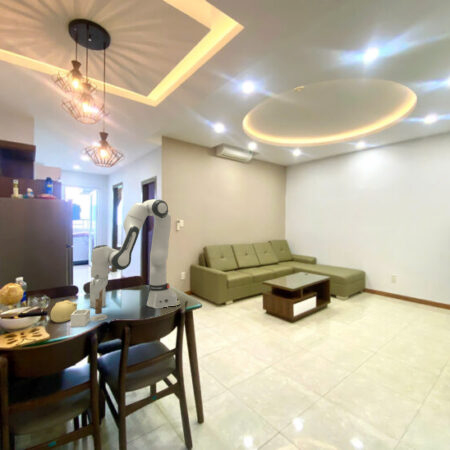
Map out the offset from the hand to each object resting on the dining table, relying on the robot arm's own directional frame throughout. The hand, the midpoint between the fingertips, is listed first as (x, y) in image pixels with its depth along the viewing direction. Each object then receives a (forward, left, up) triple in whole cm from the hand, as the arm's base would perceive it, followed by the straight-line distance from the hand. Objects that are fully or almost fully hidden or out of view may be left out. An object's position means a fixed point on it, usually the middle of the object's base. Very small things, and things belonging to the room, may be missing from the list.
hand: (99, 297), depth 138 cm
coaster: (0, 0, -12) cm, 12 cm away
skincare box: (+7, -21, -13) cm, 25 cm away
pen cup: (+7, +7, -12) cm, 16 cm away
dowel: (0, 0, -9) cm, 9 cm away
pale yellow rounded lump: (+18, 0, -13) cm, 22 cm away
